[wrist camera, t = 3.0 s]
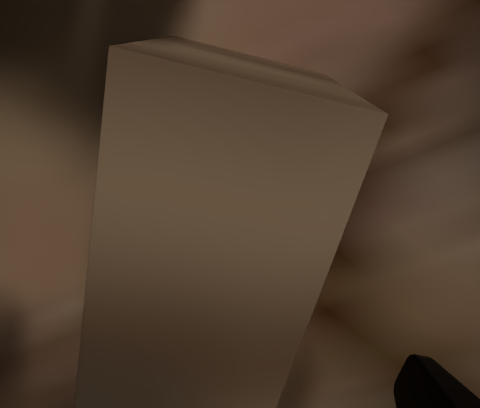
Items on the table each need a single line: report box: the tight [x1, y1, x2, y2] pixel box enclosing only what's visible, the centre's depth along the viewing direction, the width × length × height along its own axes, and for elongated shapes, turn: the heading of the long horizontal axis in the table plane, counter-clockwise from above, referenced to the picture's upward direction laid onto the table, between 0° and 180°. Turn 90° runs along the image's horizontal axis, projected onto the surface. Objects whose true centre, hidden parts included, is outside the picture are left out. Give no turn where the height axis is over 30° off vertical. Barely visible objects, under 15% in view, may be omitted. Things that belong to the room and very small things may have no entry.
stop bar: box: [74, 36, 388, 408], centre depth 9 cm, size 10×4×5 cm, turn 167°
